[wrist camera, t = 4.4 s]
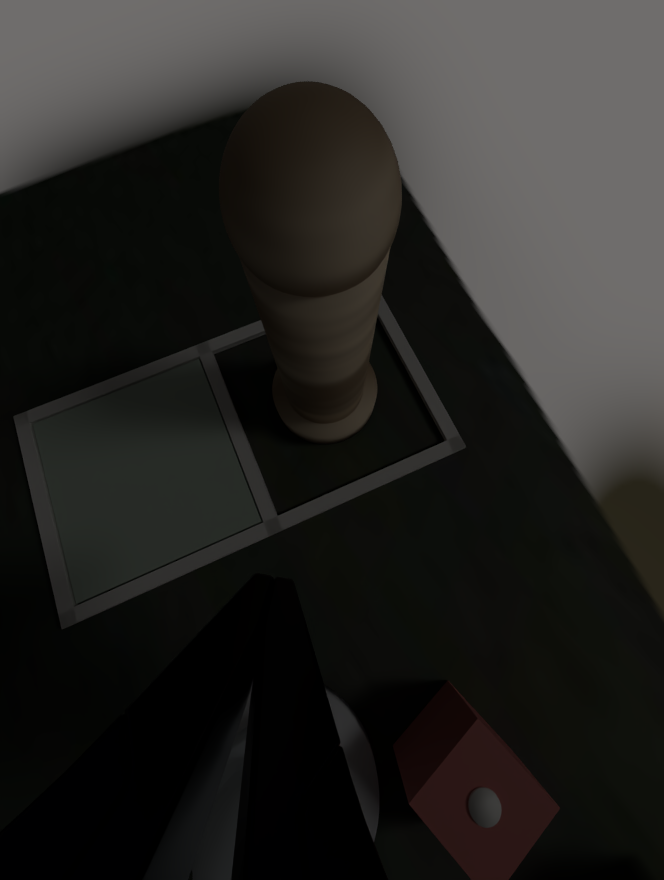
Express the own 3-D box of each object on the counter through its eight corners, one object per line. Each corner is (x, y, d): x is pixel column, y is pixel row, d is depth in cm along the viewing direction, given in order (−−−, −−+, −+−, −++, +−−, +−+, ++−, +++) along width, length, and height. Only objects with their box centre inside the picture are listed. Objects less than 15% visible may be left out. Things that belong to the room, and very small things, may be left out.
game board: (464, 448, 21) (466, 446, 21) (67, 627, 19) (61, 629, 19) (371, 281, 24) (371, 277, 24) (18, 418, 22) (13, 416, 22)
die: (510, 748, 18) (561, 810, 14) (455, 819, 17) (492, 906, 13) (447, 680, 18) (478, 719, 14) (392, 745, 18) (409, 805, 14)
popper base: (410, 843, 17) (414, 861, 16) (224, 947, 16) (216, 974, 15) (330, 642, 19) (329, 648, 18) (162, 724, 18) (152, 735, 17)
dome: (375, 847, 16) (394, 993, 11) (234, 925, 15) (183, 1120, 10) (315, 690, 17) (307, 753, 12) (186, 755, 17) (121, 850, 12)
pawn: (391, 420, 22) (514, 161, 7) (298, 460, 21) (210, 273, 6) (349, 338, 23) (375, -24, 8) (262, 374, 23) (117, 52, 8)
